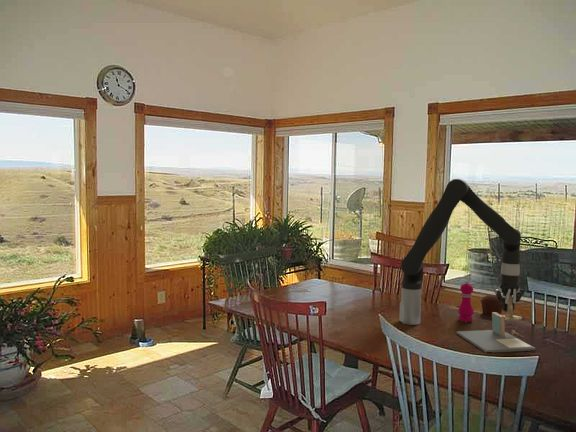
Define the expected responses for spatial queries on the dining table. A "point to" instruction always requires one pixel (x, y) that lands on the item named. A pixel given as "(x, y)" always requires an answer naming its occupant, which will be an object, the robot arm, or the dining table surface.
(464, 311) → the pepper mill
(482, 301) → the muffin
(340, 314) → the dining table surface
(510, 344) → the plate
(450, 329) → the dining table surface
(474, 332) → the mat
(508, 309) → the square plate with post
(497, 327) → the tile
